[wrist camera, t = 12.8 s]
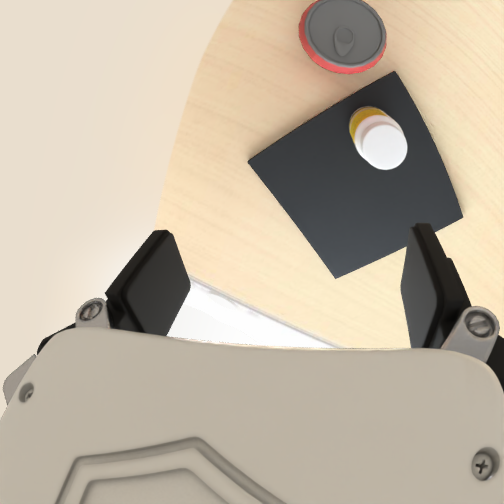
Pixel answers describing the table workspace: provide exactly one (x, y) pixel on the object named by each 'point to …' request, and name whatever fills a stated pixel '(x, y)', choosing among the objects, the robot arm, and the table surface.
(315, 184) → the mat
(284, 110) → the table surface
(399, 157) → the supplement bottle
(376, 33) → the beer can
